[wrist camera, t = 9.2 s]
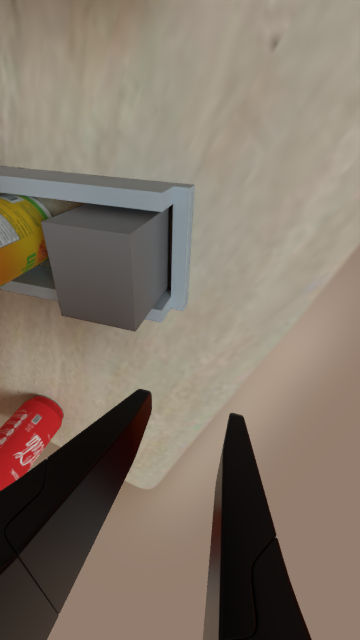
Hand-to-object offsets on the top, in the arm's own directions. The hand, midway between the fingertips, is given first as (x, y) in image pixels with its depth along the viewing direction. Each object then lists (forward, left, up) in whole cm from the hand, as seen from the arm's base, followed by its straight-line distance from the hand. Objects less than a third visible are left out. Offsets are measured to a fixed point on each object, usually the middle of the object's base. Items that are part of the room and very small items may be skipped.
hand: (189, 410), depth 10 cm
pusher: (+8, 0, -13) cm, 15 cm away
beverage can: (+21, +23, -13) cm, 33 cm away
